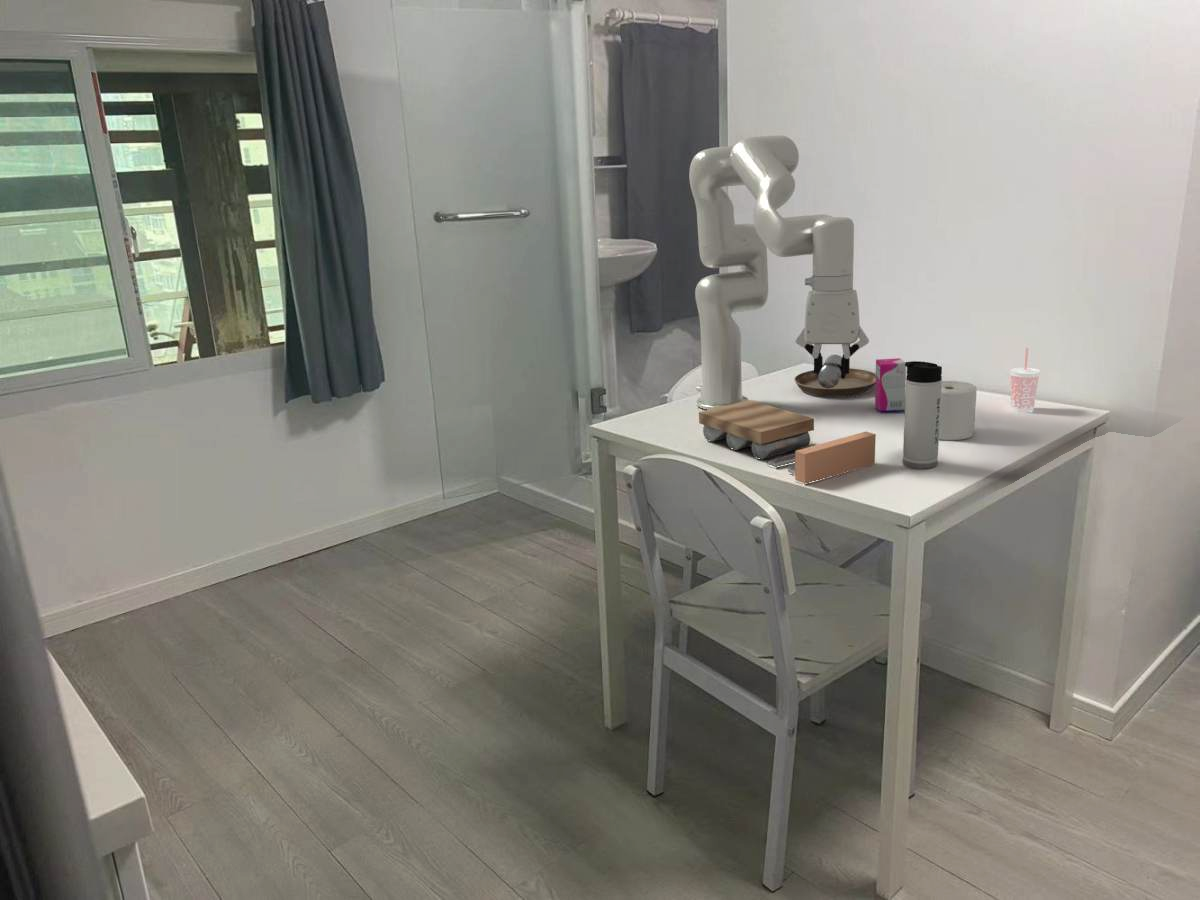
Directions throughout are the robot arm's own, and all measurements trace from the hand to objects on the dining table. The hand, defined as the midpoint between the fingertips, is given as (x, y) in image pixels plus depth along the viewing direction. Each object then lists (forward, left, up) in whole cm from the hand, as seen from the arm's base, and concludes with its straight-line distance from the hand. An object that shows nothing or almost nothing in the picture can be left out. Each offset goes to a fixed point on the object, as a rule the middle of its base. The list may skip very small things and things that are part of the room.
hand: (831, 376), depth 182 cm
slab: (-13, -9, -11) cm, 19 cm away
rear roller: (-21, -9, -15) cm, 27 cm away
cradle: (+3, -9, -15) cm, 18 cm away
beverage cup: (+7, +51, -16) cm, 54 cm away
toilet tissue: (+7, +25, -16) cm, 31 cm away
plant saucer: (-35, +36, -16) cm, 53 cm away
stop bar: (+10, -9, -15) cm, 21 cm away
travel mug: (+17, +6, -16) cm, 24 cm away
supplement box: (-13, +31, -16) cm, 37 cm away
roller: (0, 0, -1) cm, 1 cm away
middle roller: (-13, -9, -15) cm, 22 cm away
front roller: (-5, -9, -15) cm, 18 cm away
